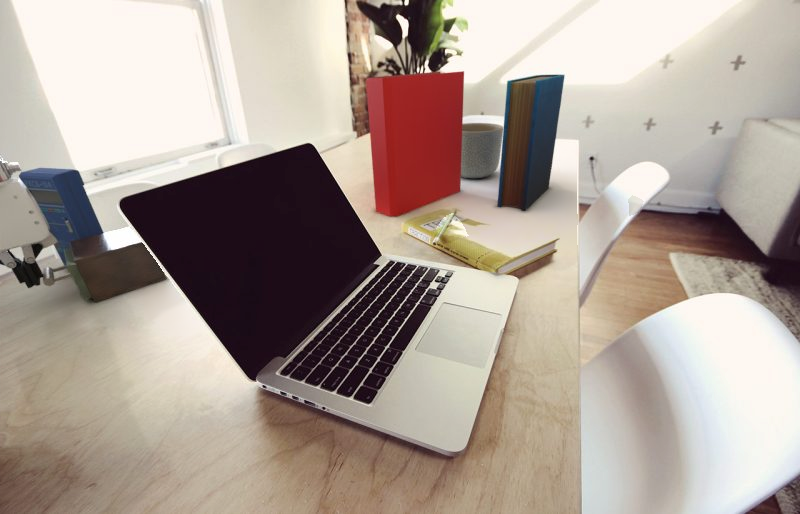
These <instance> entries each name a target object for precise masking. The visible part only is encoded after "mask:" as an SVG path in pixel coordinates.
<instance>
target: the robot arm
mask: <svg viewBox="0 0 800 514" xmlns="http://www.w3.org/2000/svg"><path fill="white" fill-rule="evenodd" d="M18 172H23V171H22V168H21V165H20V164H19V162H16V161H15V162H10V161H7V160H5V159H4V158H2V155H1V154H0V265H1V266H5V267H6V268H7V269H11V271H12V272H13V274H14V276H15V278H16V279H17V281H18V282H19V284H25V285H26V287H27V289H31V288H33V287H34V286H36V287H38V286H41V278H42V279H43V270H42V269H41V268H40V266H39V264H38V262H37V258H38V257H39V255H40V254H41V252H42V251H43V250H44V249H46V248H49V247H51V246H54V244H56V243H57V237H56V236H55V235H54V234H53V233H52V232H51V231H50V226H49V224H48V222H47V220H46V218H45V216H44V214H43V212H42V211H41V209H40V207H39V205H38V204H37V202H36V200H35V199H34V197H33V196H32V194H31V193H30V191H29V190H28V188H27V187H26V186H25V184H24V183H23V182H22V181H21V180H20V178H19V177H13V174H16V173H18ZM17 248H21V251H22V255H23V258H22V259H20V258H18V257H17V256H16V255H15V254H14V253H13V252H12V250H13V249H17Z"/></svg>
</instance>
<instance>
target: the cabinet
mask: <svg viewBox="0 0 800 514" xmlns="http://www.w3.org/2000/svg"><path fill="white" fill-rule="evenodd" d="M130 227H131V226H127V227H123V228H119V229H115V230H111V231H107V232H104V233H103V234H99V235H95V236H91V237H87V238H83V239H79V240H75V241H71V242H70V245H71V249H72V253H73V257H74V261H75V263H76V265H77V267H78V269H79V271H80V273H81V275H82V277H83V279H84V281H85V283H86V285H87V287H88V289H89V291H90V293H91V295H92V298H91V299H93V302H94V303H98V302H101V301H104V300H107V299H111V298H113V297H116V296H119V295H122V294H125V293H128V292H131V291H134V290H137V289H141V288H143V287H146V286H150V285H153V284H155V283H159V282H161V281H164V280H167V276H166V274H164V273H165V271H164V272H163V271H162V269H161V268H160V266H159V265H158V263H157V262H156V260H155V259H154V258H153V256H152V255H151V254H150V252H149V251H148V250H147V248H146V247H145V245H144V244H143V243H142V242H141V240H140V239H139V238H138V236H137V235H136V234H135V232H134V231H133V230H132V229H131V228H130Z"/></svg>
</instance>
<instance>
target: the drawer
mask: <svg viewBox="0 0 800 514" xmlns="http://www.w3.org/2000/svg"><path fill="white" fill-rule="evenodd" d="M64 252H65V257H66V262H67V265H64V264H63V265H60V266H59V265H58V266H56V267H53V268H52V267H50V266H46V267H44V268H43V269H42V273H43V277H42V283H43V285H44V286H46V287H51V286H54V284H55V282H60V281H63V280H66V279H69V278H70V279H71V278H72V279H73V281H74V283H75V284H76V287H77V288H78V291H79V292H80V294H81V296H82V298H83V300H84V301H85V300H89V299H93V298H92V295H91V293H90V291H89V289H88V287H87V285H86V283H85V281H84V279H83V277H82V275H81V273H80V271H79V269H78V267H77V265H76V263H75V261H74V257H73V253H72V249H71V247H70V248H66V249H64ZM67 269H68V271H69V272H68V273H64V274H61V275H58V276H55V273H56V272H60V271H64V270H67Z"/></svg>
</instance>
